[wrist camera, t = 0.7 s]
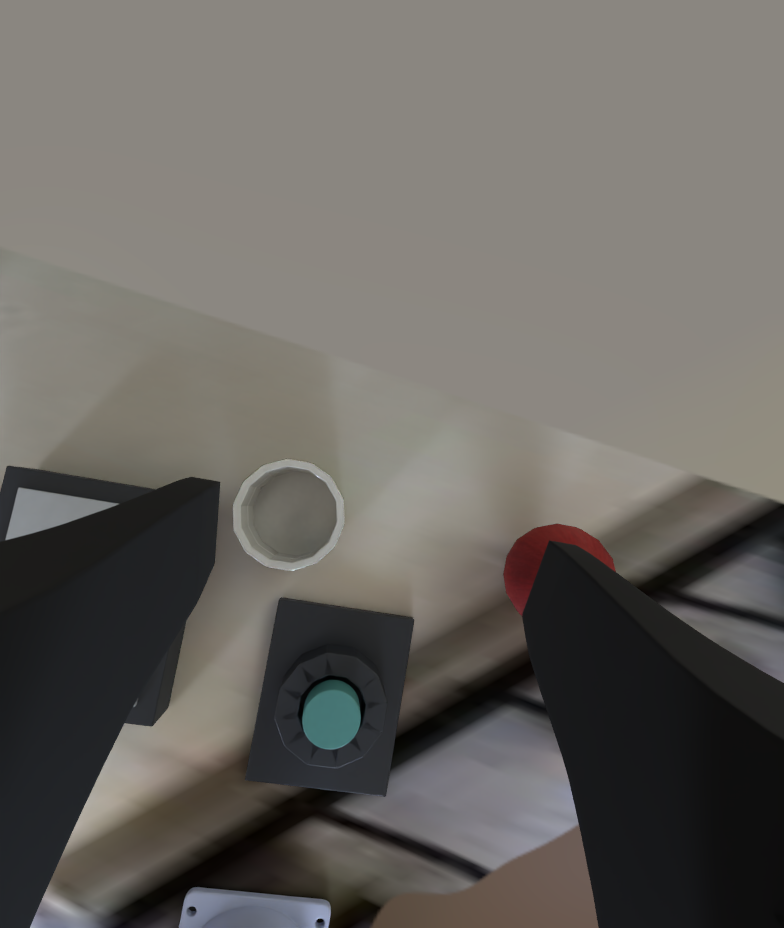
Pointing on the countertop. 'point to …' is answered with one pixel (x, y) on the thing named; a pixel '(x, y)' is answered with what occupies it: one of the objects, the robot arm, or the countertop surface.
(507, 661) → the countertop surface
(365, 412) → the countertop surface
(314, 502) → the cup
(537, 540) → the onion
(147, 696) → the scale
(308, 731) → the button
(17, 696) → the robot arm
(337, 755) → the pad
